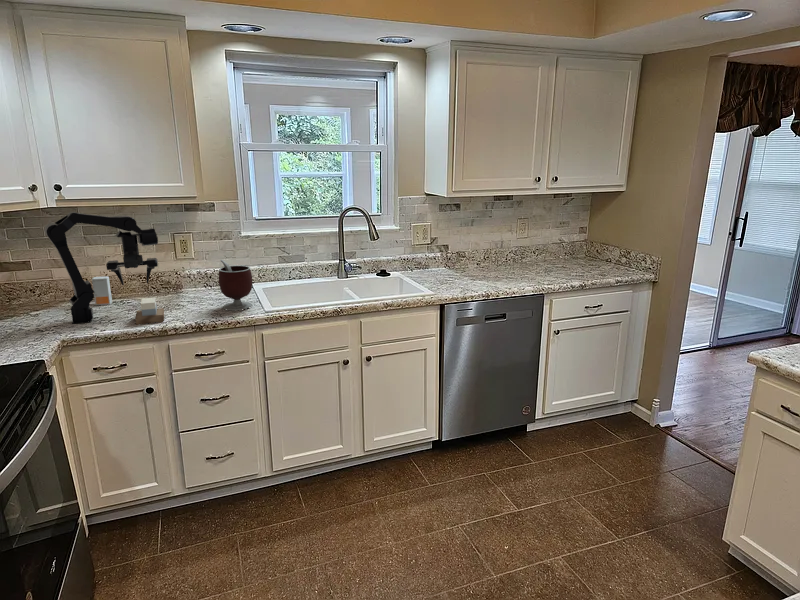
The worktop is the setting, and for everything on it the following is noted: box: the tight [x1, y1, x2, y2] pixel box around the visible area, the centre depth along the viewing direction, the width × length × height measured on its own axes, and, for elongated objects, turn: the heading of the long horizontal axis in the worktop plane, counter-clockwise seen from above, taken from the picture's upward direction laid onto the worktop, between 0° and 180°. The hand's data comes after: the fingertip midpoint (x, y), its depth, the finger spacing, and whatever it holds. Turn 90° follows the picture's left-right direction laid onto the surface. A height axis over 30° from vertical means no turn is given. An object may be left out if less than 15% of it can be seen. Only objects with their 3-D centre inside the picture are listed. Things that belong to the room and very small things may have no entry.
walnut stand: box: [134, 307, 165, 326], centre depth 213 cm, size 10×10×3 cm
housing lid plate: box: [140, 297, 157, 310], centre depth 212 cm, size 5×8×2 cm, turn 23°
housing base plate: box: [142, 305, 158, 316], centre depth 212 cm, size 5×8×2 cm, turn 22°
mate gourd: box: [218, 259, 253, 311], centre depth 229 cm, size 16×14×20 cm
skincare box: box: [91, 275, 113, 306], centre depth 234 cm, size 6×4×12 cm
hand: (135, 284), depth 221 cm, fingers open, 9 cm apart
